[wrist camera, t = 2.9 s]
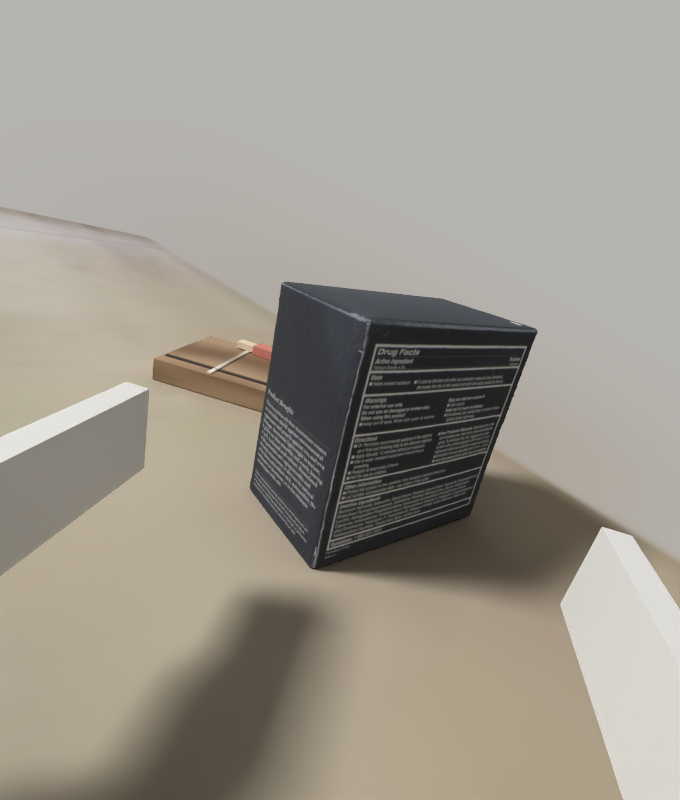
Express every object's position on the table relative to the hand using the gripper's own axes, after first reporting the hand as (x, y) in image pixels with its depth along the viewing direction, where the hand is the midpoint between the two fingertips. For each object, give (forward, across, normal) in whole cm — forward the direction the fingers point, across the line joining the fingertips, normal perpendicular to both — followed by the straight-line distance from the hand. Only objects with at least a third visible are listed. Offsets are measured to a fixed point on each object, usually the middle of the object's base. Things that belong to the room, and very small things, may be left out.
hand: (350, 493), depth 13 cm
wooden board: (+20, -7, -6) cm, 22 cm away
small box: (+9, 0, -6) cm, 11 cm away
